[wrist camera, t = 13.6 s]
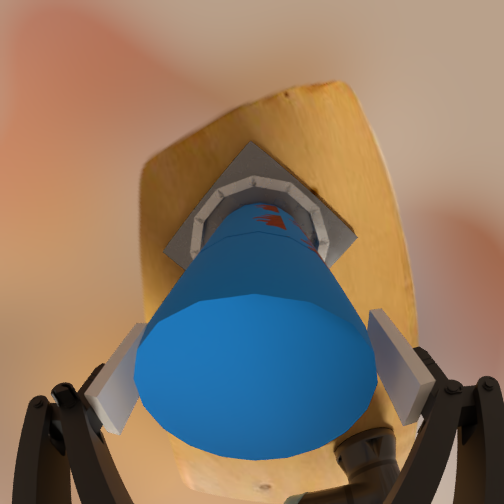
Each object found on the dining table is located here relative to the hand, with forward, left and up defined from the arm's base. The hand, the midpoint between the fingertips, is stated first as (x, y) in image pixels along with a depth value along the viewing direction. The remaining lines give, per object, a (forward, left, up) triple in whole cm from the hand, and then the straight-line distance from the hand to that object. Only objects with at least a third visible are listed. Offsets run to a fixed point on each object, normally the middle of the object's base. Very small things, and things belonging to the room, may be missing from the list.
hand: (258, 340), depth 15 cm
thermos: (0, 0, -20) cm, 20 cm away
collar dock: (0, 0, -21) cm, 21 cm away
